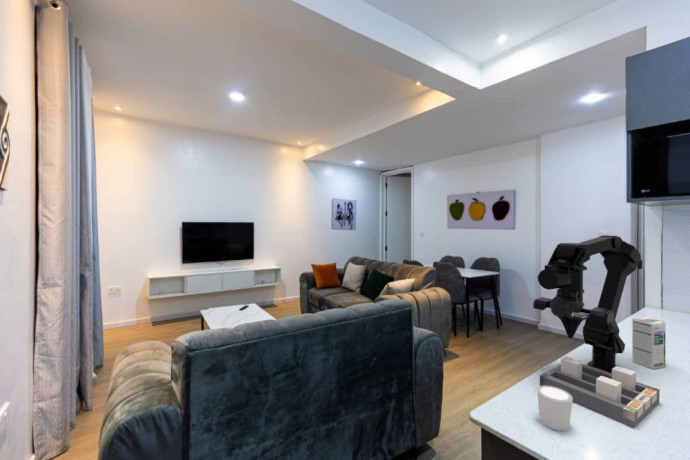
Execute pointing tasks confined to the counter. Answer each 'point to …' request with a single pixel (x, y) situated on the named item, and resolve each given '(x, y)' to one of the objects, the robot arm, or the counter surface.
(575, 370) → the beige rectangular block
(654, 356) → the syrup box
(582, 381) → the switch bank
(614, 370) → the tab
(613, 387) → the cream rectangular block
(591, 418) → the counter surface
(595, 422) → the counter surface
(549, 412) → the white cup
